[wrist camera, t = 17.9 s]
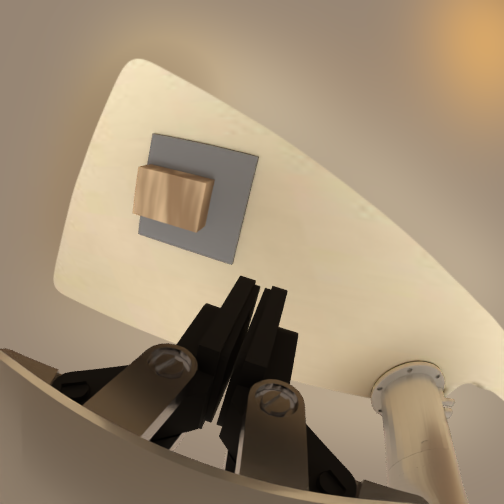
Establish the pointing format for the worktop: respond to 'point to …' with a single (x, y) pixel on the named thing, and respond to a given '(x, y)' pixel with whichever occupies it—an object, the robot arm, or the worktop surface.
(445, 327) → the worktop surface
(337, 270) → the worktop surface
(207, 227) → the rubber mat
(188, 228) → the oak slab
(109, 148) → the worktop surface
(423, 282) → the worktop surface
